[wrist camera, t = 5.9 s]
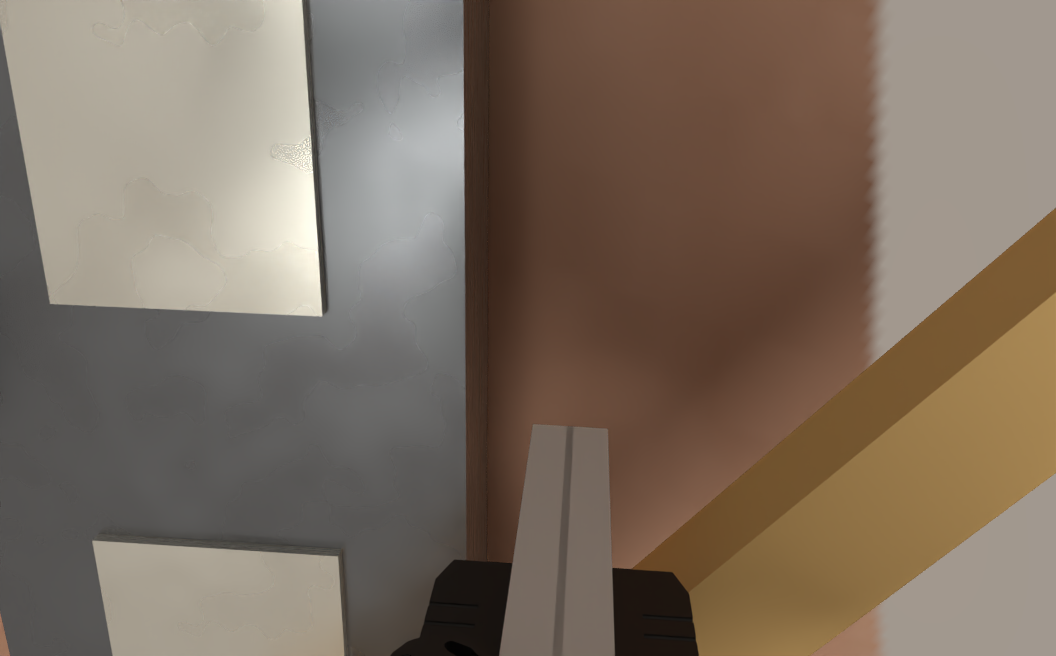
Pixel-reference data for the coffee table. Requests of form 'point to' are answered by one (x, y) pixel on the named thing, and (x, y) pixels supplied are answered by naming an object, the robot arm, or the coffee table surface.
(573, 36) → the coffee table surface
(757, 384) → the coffee table surface
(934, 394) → the bar
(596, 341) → the coffee table surface
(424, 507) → the chassis
